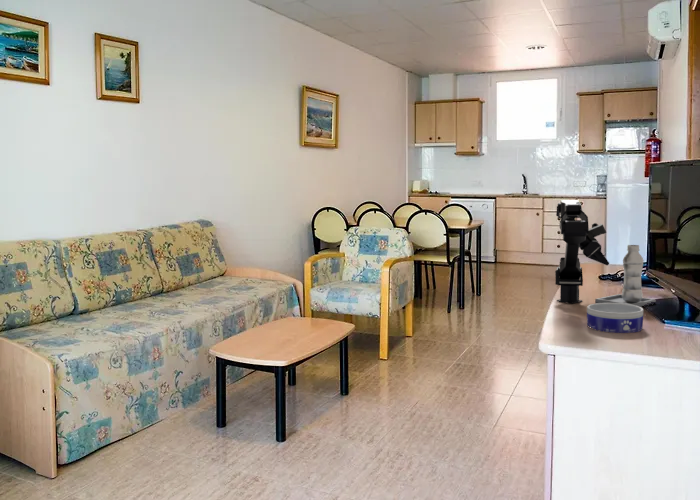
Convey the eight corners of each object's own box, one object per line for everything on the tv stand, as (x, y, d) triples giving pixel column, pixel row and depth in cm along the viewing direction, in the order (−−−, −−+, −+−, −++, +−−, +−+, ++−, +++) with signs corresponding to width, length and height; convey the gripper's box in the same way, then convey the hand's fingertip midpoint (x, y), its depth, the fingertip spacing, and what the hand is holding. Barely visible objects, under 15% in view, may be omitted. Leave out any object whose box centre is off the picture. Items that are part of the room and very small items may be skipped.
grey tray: (632, 309, 204) (632, 304, 204) (595, 302, 215) (595, 298, 215) (655, 303, 212) (655, 299, 211) (618, 298, 223) (618, 294, 223)
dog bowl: (609, 335, 171) (610, 314, 170) (575, 324, 185) (576, 304, 185) (655, 331, 175) (655, 310, 174) (618, 320, 189) (618, 301, 189)
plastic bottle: (628, 299, 217) (630, 244, 215) (646, 302, 211) (648, 245, 209) (617, 302, 214) (618, 245, 212) (635, 304, 208) (636, 246, 206)
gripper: (594, 218, 210) (628, 250, 208) (590, 214, 228) (621, 244, 226) (569, 241, 214) (602, 272, 212) (567, 235, 231) (598, 264, 229)
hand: (607, 262), depth 220 cm, fingers open, 9 cm apart
